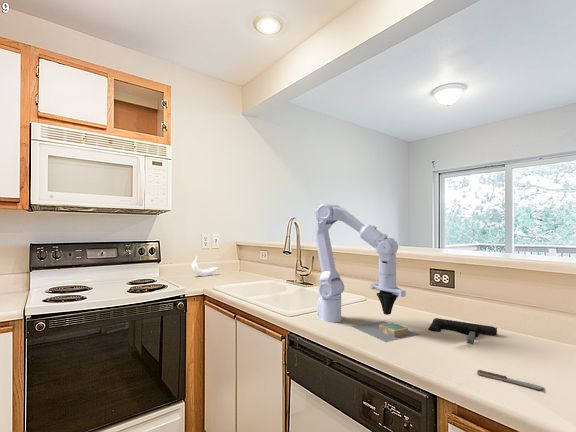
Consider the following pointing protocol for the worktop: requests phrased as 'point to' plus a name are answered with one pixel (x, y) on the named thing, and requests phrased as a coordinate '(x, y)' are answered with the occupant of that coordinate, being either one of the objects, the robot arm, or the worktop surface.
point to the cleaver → (505, 379)
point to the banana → (200, 271)
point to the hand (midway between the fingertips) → (387, 314)
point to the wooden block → (393, 329)
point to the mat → (374, 331)
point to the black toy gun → (462, 328)
